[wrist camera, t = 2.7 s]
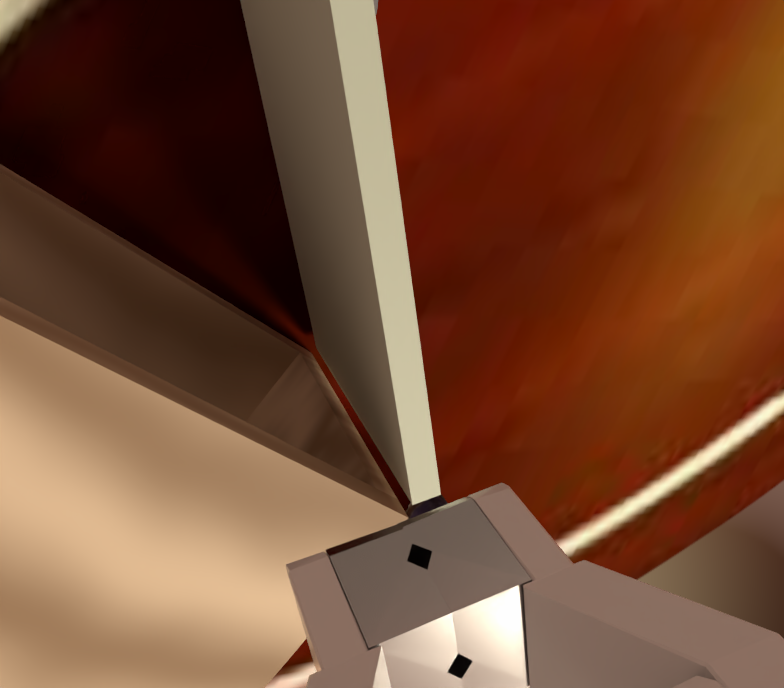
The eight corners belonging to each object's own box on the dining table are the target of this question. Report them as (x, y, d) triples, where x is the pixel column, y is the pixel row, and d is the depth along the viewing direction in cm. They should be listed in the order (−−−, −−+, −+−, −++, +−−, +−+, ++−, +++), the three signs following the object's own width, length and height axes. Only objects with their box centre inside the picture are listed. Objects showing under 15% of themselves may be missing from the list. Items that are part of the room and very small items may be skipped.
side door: (286, -82, 26) (412, -100, 16) (362, 333, 34) (474, 482, 25) (224, -72, 25) (315, -85, 16) (316, 347, 34) (412, 505, 24)
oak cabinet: (-75, 118, 25) (-173, 229, 15) (311, 352, 34) (408, 517, 24) (-283, 434, 27) (-491, 717, 17) (135, 575, 36) (158, 812, 26)
